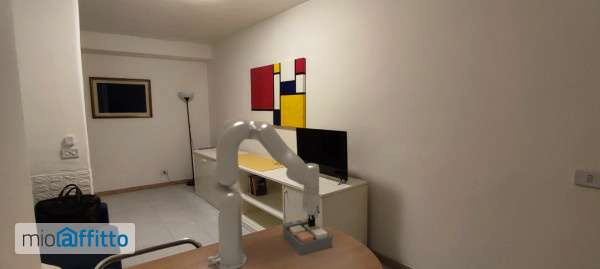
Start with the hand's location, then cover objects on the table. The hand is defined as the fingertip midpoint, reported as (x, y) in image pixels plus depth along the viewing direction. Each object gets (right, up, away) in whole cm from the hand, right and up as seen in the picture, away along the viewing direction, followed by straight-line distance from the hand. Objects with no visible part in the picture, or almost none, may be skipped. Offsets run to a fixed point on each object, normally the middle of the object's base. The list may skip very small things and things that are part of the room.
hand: (311, 225), depth 139 cm
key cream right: (+3, -2, -7) cm, 8 cm away
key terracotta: (-4, -3, -10) cm, 11 cm away
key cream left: (-7, -2, -3) cm, 8 cm away
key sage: (0, -2, 0) cm, 2 cm away
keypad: (-3, -7, -3) cm, 8 cm away
